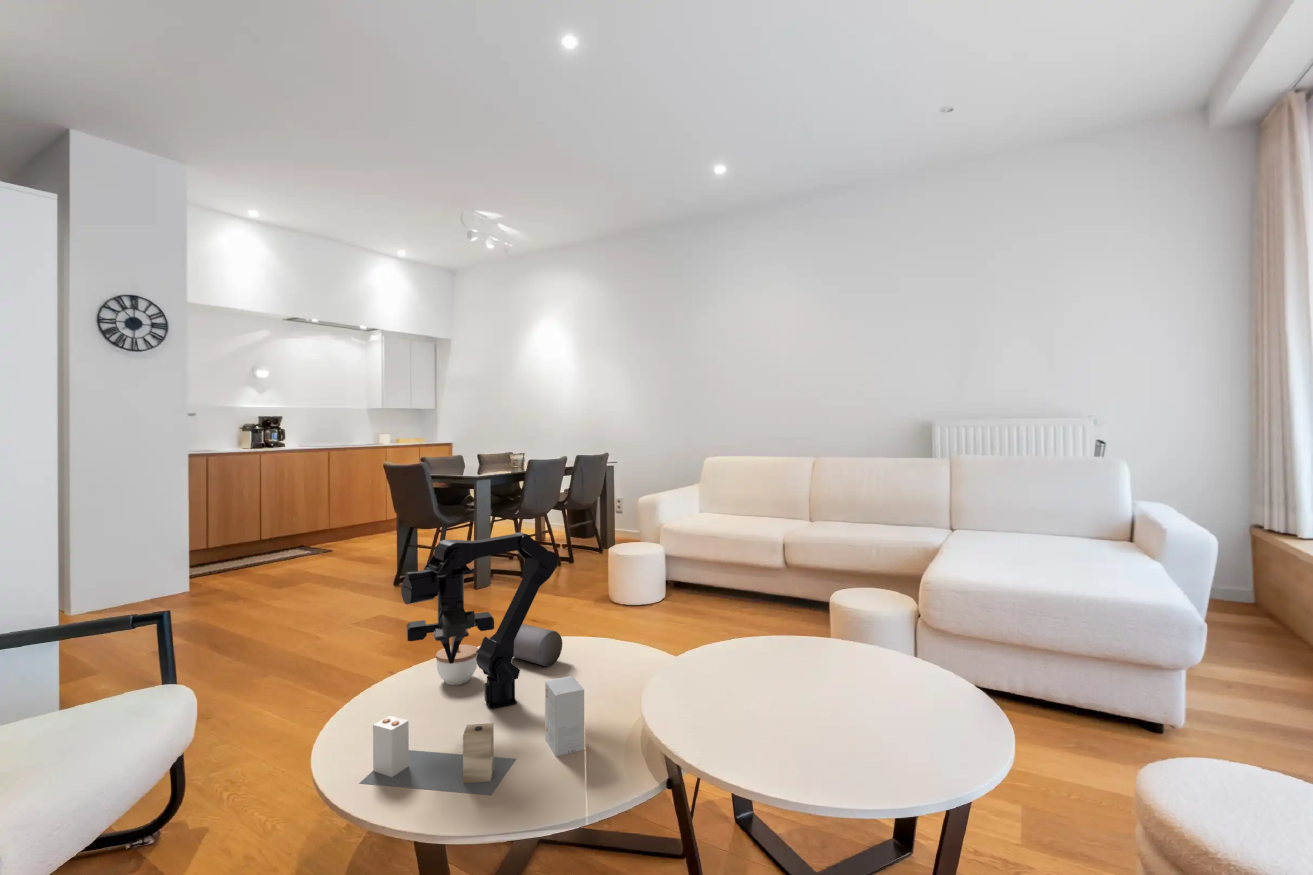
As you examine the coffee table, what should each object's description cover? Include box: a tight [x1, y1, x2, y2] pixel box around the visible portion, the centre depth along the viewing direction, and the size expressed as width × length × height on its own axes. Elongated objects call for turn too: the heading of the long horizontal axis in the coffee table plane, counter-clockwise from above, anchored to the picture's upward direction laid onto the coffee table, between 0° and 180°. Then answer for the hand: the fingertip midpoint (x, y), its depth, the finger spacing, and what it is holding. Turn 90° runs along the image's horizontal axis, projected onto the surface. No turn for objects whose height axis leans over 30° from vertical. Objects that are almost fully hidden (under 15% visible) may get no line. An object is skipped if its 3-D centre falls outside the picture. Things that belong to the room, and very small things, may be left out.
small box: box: [544, 675, 585, 757], centre depth 123 cm, size 8×6×13 cm
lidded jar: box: [435, 644, 479, 686], centre depth 157 cm, size 11×11×9 cm
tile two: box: [372, 715, 410, 777], centre depth 114 cm, size 4×5×9 cm
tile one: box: [462, 722, 495, 783], centre depth 112 cm, size 4×5×9 cm
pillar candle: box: [513, 623, 563, 667], centre depth 170 cm, size 10×10×15 cm
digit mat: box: [358, 749, 517, 796], centre depth 114 cm, size 26×12×1 cm, turn 82°
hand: (451, 662), depth 135 cm, fingers closed
